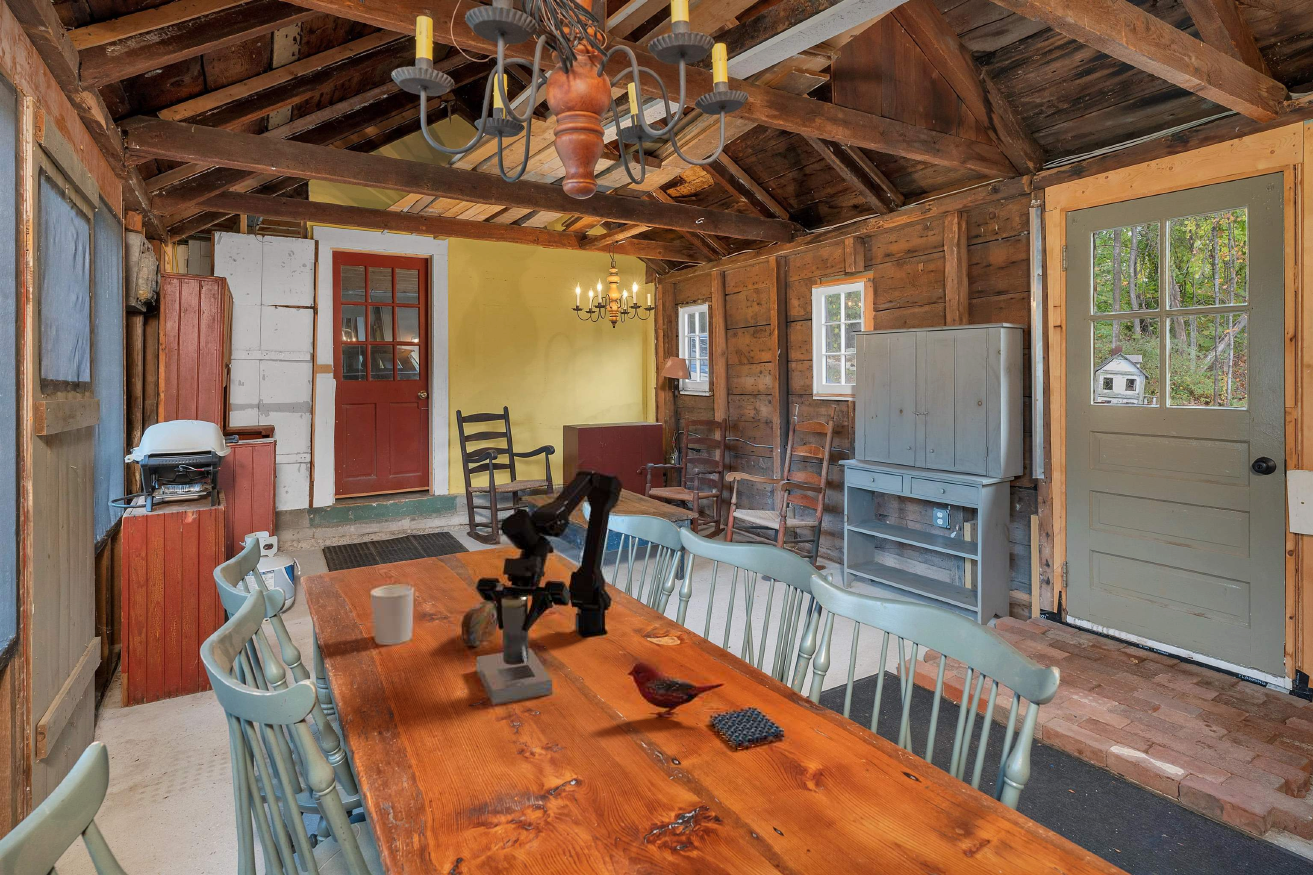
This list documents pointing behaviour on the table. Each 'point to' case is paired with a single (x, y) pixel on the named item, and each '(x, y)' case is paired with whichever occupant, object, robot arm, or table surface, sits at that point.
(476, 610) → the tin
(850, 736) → the table surface
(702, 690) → the decorative bird figurine
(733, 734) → the woven mat
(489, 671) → the housing block
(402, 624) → the white paper cup
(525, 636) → the end plug
